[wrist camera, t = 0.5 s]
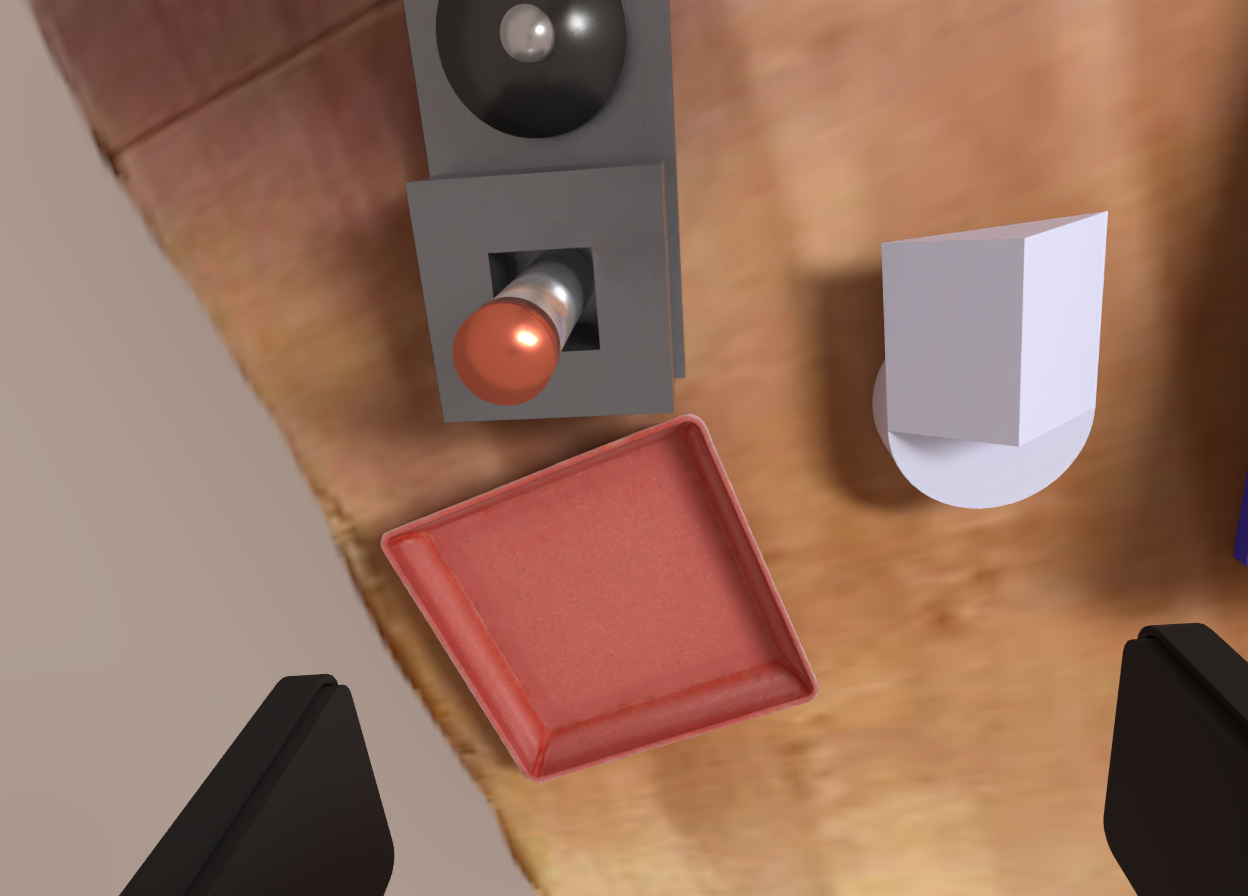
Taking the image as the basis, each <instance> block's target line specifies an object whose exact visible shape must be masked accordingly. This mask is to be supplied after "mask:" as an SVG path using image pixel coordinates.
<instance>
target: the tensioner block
mask: <svg viewBox="0 0 1248 896" xmlns="http://www.w3.org/2000/svg"><path fill="white" fill-rule="evenodd" d="M403 2H404V8H405V15H406V21H407V28H408V35H409V41H410V48H411V54H412V61H413V67H414V74H415V81H416V87H417V94H418V100H419V107H420V114H421V120H422V127H423V133H424V140H425V147H426V153H427V160H428V166H429V173H430V177H427V178H422V179H418V180H413V181H409V182H405V185H406V191H407V197H408V204H409V210H410V216H411V222H412V228H413V234H414V240H415V246H416V253H417V259H418V265H419V271H420V277H421V283H422V289H423V296H424V302H425V308H426V314H427V320H428V326H429V332H430V338H431V345H432V351H433V357H434V363H435V369H436V375H437V381H438V387H439V394H440V400H441V406H442V412H443V418H444V423H448V422H470V421H493V420H516V419H539V418H562V417H585V416H608V415H631V414H654V413H674V389H675V378H684V377H685V354H684V331H683V309H682V286H681V263H680V240H679V217H678V195H677V172H676V149H675V126H674V103H673V81H672V58H671V35H670V12H669V0H403ZM564 248H570V249H573V250H575V251H577V252H579V253H580V254H582V255H583V256H584V257H585V258H586V259H587V261H588V262H589V264H590V265H591V268H592V270H593V274H594V288H593V291H592V294H591V296H590V298H589V300H588V302H587V303H586V305H585V307H584V309H583V311H582V313H581V315H580V317H579V318H578V320H577V322H576V324H575V326H574V328H573V330H572V332H571V333H570V335H569V337H568V339H567V341H566V343H565V345H564V347H563V348H562V350H561V352H560V357H559V361H558V363H557V366H556V368H555V370H554V372H553V374H552V376H551V378H550V380H549V381H548V383H547V385H546V386H545V388H544V389H543V390H542V391H541V392H540V393H539V394H538V395H537V396H535V397H534V398H533V399H531V400H529V401H527V402H524V403H522V404H518V405H511V406H503V405H496V404H492V403H489V402H487V401H484V400H482V399H480V398H479V397H477V396H476V395H474V394H473V393H472V392H471V391H470V390H469V389H468V388H467V387H466V386H465V385H464V384H463V382H462V381H461V379H460V378H459V376H458V374H457V372H456V369H455V366H454V361H453V344H454V339H455V336H456V334H457V332H458V330H459V328H460V327H461V325H462V324H463V323H464V322H465V320H466V319H467V318H469V317H470V316H471V315H472V314H473V313H474V312H475V311H476V310H477V309H478V308H480V307H481V306H482V305H483V304H485V303H487V302H489V301H491V300H493V299H494V298H495V297H496V296H497V295H498V294H499V293H500V292H501V291H502V290H503V289H504V288H506V287H507V286H508V285H509V284H510V283H511V282H512V281H513V280H514V279H515V278H516V277H517V276H518V275H519V274H520V273H522V272H523V271H524V270H525V269H526V268H527V267H528V266H529V265H530V264H531V263H532V262H533V261H534V260H535V259H537V258H538V257H539V256H540V255H541V254H542V253H543V252H545V251H547V250H549V249H564Z"/></svg>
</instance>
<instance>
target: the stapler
mask: <svg viewBox="0 0 1248 896" xmlns="http://www.w3.org/2000/svg"><path fill="white" fill-rule="evenodd" d="M1233 557H1235V558H1236V559H1237V560H1238V561H1240V562H1241V563H1242V564H1244V565H1245V566H1248V471H1247V477H1246V483H1245V489H1244V495H1243V501H1242V507H1241V513H1240V519H1239V525H1238V531H1237V537H1236V543H1235V549H1234V555H1233Z"/></svg>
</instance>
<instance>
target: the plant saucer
mask: <svg viewBox="0 0 1248 896" xmlns="http://www.w3.org/2000/svg"><path fill="white" fill-rule="evenodd" d="M380 545H381V548H382V550H383V552H384V554H385V556H386V557H387V559H388V561H389V562H390V564H391V565H392V567H393V568H394V570H395V571H396V573H397V575H398V576H399V578H400V579H401V581H402V583H403V585H404V586H405V588H406V589H407V591H408V592H409V594H410V596H411V597H412V598H413V600H414V601H415V603H416V605H417V606H418V608H419V610H420V611H421V613H422V614H423V616H424V617H425V619H426V621H427V622H428V624H429V625H430V627H431V629H432V630H433V632H434V633H435V635H436V637H437V638H438V640H439V641H440V643H441V645H442V646H443V648H444V650H445V651H446V652H447V654H448V656H449V657H450V659H451V661H452V662H453V664H454V665H455V667H456V668H457V670H458V672H459V673H460V675H461V676H462V678H463V679H464V681H465V683H466V685H467V686H468V688H469V690H470V691H471V693H472V694H473V695H474V697H475V699H476V700H477V702H478V704H479V706H480V707H481V708H482V710H483V711H484V713H485V715H486V716H487V718H488V719H489V721H490V723H491V725H492V726H493V728H494V729H495V731H496V732H497V733H498V735H499V737H500V739H501V741H502V742H503V744H504V745H505V747H506V748H507V750H508V752H509V754H510V755H511V757H512V758H513V760H514V761H515V763H516V765H517V766H518V768H519V769H520V771H521V772H522V774H523V775H524V776H525V777H526V778H527V779H529V780H531V781H532V782H535V783H541V782H545V781H549V780H552V779H555V778H558V777H561V776H565V775H569V774H572V773H575V772H579V771H582V770H585V769H588V768H591V767H595V766H598V765H602V764H605V763H608V762H611V761H614V760H618V759H621V758H625V757H628V756H631V755H635V754H638V753H640V752H644V751H647V750H651V749H654V748H658V747H662V746H665V745H668V744H670V743H673V742H677V741H681V740H685V739H688V738H692V737H695V736H698V735H700V734H704V733H708V732H710V731H713V730H717V729H720V728H723V727H727V726H730V725H733V724H737V723H741V722H744V721H747V720H750V719H753V718H757V717H760V716H763V715H767V714H770V713H773V712H776V711H780V710H785V709H788V708H790V707H793V706H796V705H801V704H804V703H807V702H809V701H811V700H813V699H814V698H815V697H816V695H817V694H818V692H819V690H820V687H819V684H818V681H817V679H816V676H815V674H814V672H813V670H812V668H811V665H810V663H809V661H808V659H807V656H806V654H805V652H804V649H803V647H802V645H801V643H800V641H799V638H798V636H797V634H796V631H795V629H794V627H793V624H792V622H791V620H790V617H789V615H788V613H787V611H786V608H785V606H784V604H783V602H782V599H781V597H780V595H779V593H778V590H777V588H776V585H775V583H774V581H773V579H772V576H771V574H770V572H769V570H768V568H767V565H766V563H765V561H764V558H763V556H762V554H761V552H760V549H759V547H758V545H757V542H756V540H755V538H754V536H753V533H752V531H751V529H750V527H749V524H748V522H747V520H746V517H745V515H744V513H743V510H742V508H741V506H740V504H739V501H738V499H737V497H736V494H735V492H734V490H733V487H732V485H731V483H730V481H729V478H728V476H727V473H726V471H725V469H724V466H723V464H722V462H721V460H720V457H719V455H718V453H717V450H716V448H715V446H714V443H713V441H712V439H711V436H710V433H709V431H708V429H707V427H706V425H705V423H704V422H703V420H702V419H701V418H700V417H698V416H696V415H695V414H683V415H680V416H676V417H674V418H671V419H669V420H666V421H664V422H661V423H659V424H656V425H653V426H651V427H648V428H646V429H643V430H641V431H638V432H635V433H633V434H630V435H628V436H625V437H622V438H620V439H617V440H615V441H612V442H610V443H607V444H605V445H602V446H599V447H597V448H594V449H592V450H589V451H587V452H584V453H582V454H579V455H577V456H574V457H572V458H569V459H567V460H564V461H562V462H559V463H556V464H554V465H552V466H549V467H547V468H544V469H542V470H539V471H537V472H534V473H532V474H530V475H527V476H525V477H522V478H520V479H517V480H515V481H512V482H510V483H507V484H505V485H503V486H500V487H497V488H495V489H492V490H490V491H488V492H485V493H483V494H480V495H478V496H475V497H472V498H470V499H467V500H465V501H462V502H460V503H457V504H455V505H452V506H450V507H447V508H445V509H442V510H440V511H437V512H435V513H432V514H430V515H427V516H425V517H422V518H419V519H417V520H414V521H412V522H409V523H407V524H404V525H401V526H399V527H396V528H394V529H391V530H389V531H387V532H385V533H384V534H383V535H382V537H381V543H380Z"/></svg>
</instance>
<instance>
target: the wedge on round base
mask: <svg viewBox="0 0 1248 896" xmlns="http://www.w3.org/2000/svg"><path fill="white" fill-rule="evenodd" d="M1107 219H1108V211H1104V212H1097V213H1090V214H1083V215H1076V216H1069V217H1062V218H1055V219H1048V220H1041V221H1034V222H1027V223H1020V224H1013V225H1005V226H998V227H991V228H984V229H977V230H970V231H963V232H956V233H949V234H942V235H935V236H928V237H921V238H914V239H907V240H900V241H893V242H886V243H881V246H882V275H883V304H884V332H885V360H884V361H883V364H882V366H881V368H880V370H879V372H878V375H877V378H876V381H875V385H874V390H873V400H872V409H873V417H874V422H875V425H876V429H877V431H878V433H879V436H880V438H881V440H882V441H883V443H884V445H885V446H886V448H887V450H888V451H889V453H890V454H891V456H892V458H893V459H894V461H895V462H896V464H897V466H898V467H899V469H900V470H901V472H902V473H903V475H904V476H905V477H906V478H907V479H908V480H909V482H910V483H911V484H912V485H913V486H915V487H916V488H917V489H918V490H920V491H921V492H922V493H924V494H926V495H927V496H929V497H931V498H933V499H935V500H937V501H940V502H942V503H945V504H949V505H952V506H956V507H963V508H992V507H998V506H1003V505H1007V504H1011V503H1014V502H1017V501H1020V500H1023V499H1025V498H1027V497H1029V496H1031V495H1033V494H1035V493H1037V492H1039V491H1040V490H1042V489H1043V488H1045V487H1047V486H1048V485H1049V484H1051V483H1052V482H1053V481H1055V480H1056V479H1057V478H1058V477H1059V476H1060V475H1061V474H1062V473H1063V472H1064V471H1065V470H1066V469H1067V468H1068V467H1069V466H1070V465H1071V464H1072V462H1073V461H1074V460H1075V459H1076V457H1077V456H1078V454H1079V453H1080V451H1081V450H1082V448H1083V446H1084V444H1085V442H1086V440H1087V438H1088V436H1089V433H1090V430H1091V427H1092V423H1093V420H1094V413H1095V404H1096V389H1097V373H1098V358H1099V343H1100V327H1101V312H1102V296H1103V281H1104V265H1105V250H1106V234H1107Z"/></svg>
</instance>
